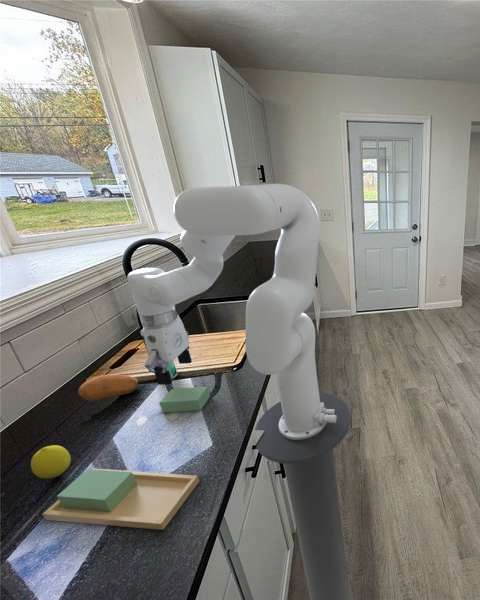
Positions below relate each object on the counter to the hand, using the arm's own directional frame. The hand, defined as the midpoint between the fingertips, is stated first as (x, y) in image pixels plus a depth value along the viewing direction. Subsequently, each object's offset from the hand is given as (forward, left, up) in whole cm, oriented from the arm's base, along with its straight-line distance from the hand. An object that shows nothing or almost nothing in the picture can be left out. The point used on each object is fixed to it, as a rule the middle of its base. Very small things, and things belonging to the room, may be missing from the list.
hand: (176, 372), depth 86 cm
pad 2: (0, 0, -11) cm, 11 cm away
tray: (-8, +28, -11) cm, 31 cm away
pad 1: (-3, +28, -10) cm, 30 cm away
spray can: (+16, -12, -11) cm, 22 cm away
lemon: (+12, +24, -11) cm, 29 cm away
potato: (+25, -2, -11) cm, 27 cm away
